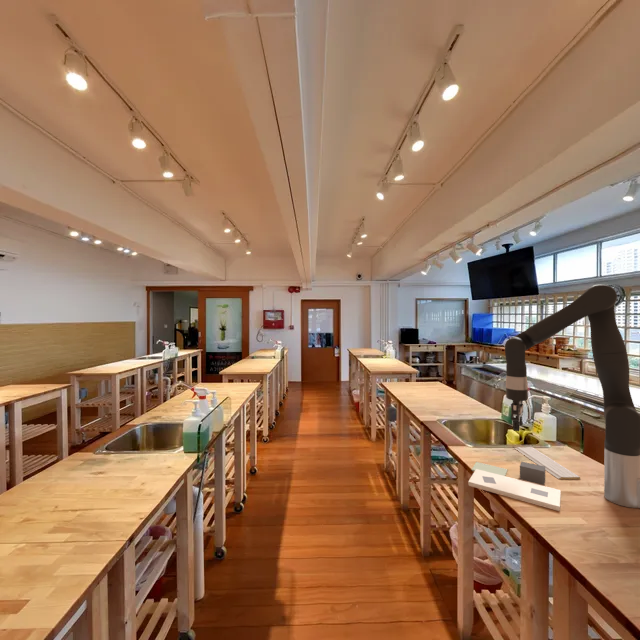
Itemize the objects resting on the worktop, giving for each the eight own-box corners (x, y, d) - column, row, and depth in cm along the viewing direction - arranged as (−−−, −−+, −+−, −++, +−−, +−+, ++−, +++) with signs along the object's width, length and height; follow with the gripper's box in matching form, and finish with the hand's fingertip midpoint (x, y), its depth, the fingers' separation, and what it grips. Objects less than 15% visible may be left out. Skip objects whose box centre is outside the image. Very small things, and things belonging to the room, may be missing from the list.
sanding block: (545, 480, 130) (545, 466, 130) (544, 486, 126) (544, 471, 126) (521, 474, 134) (521, 461, 134) (519, 479, 130) (519, 465, 130)
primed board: (560, 494, 119) (560, 490, 119) (559, 511, 109) (559, 506, 109) (476, 472, 136) (476, 468, 136) (468, 485, 126) (468, 481, 126)
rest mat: (507, 470, 138) (507, 469, 138) (504, 478, 131) (504, 477, 131) (476, 462, 145) (476, 461, 145) (471, 470, 138) (471, 469, 138)
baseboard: (554, 480, 131) (580, 480, 130) (554, 473, 131) (580, 473, 130) (511, 449, 161) (532, 450, 161) (511, 444, 161) (532, 444, 161)
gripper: (525, 391, 125) (526, 434, 125) (529, 385, 137) (530, 424, 137) (503, 389, 130) (504, 431, 130) (508, 383, 141) (509, 421, 141)
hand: (517, 427), depth 133 cm, fingers open, 8 cm apart
